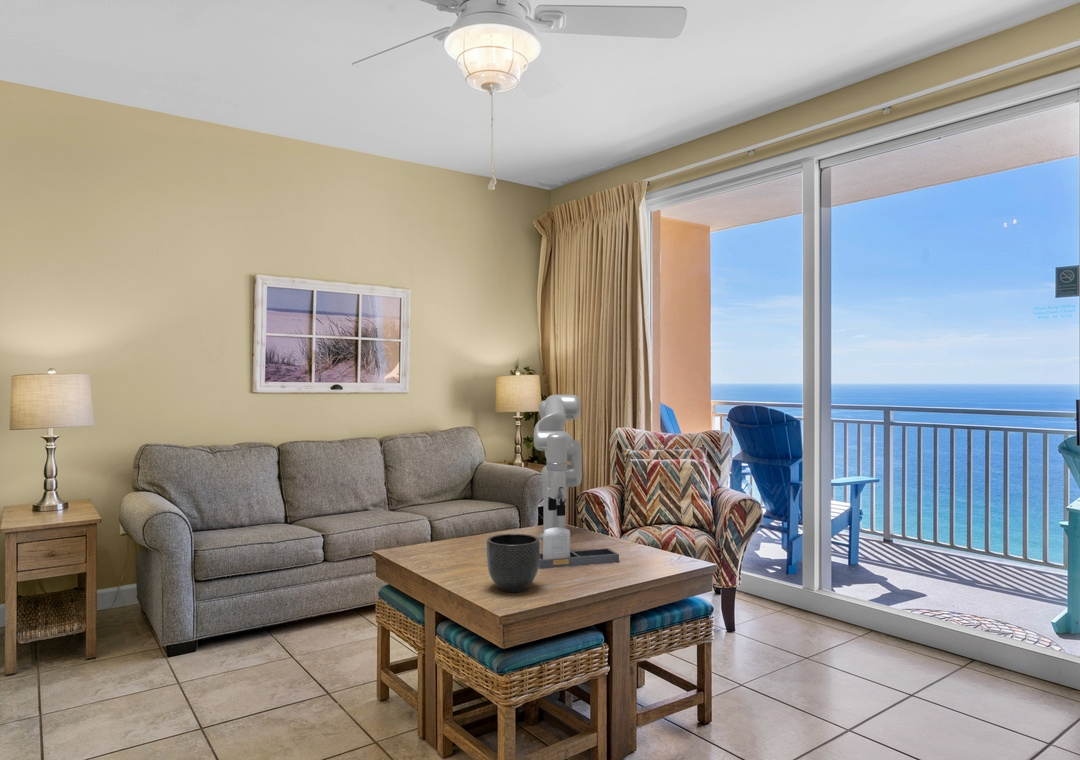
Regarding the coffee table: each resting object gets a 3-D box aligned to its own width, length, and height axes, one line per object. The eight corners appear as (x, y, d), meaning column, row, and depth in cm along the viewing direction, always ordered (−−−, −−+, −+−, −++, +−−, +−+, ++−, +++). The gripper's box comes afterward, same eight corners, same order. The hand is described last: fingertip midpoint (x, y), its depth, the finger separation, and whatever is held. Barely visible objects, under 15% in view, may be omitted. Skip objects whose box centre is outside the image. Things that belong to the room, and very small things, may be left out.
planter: (515, 577, 231) (515, 531, 231) (550, 589, 218) (550, 539, 219) (475, 588, 219) (475, 538, 219) (510, 600, 207) (510, 548, 207)
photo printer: (568, 559, 253) (569, 526, 253) (571, 562, 249) (571, 528, 249) (541, 560, 251) (542, 527, 251) (544, 563, 247) (544, 529, 247)
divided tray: (531, 562, 252) (531, 553, 252) (608, 555, 261) (608, 548, 261) (540, 569, 242) (540, 560, 242) (619, 562, 252) (619, 554, 252)
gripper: (539, 464, 257) (539, 508, 258) (554, 470, 241) (554, 518, 241) (558, 463, 260) (558, 507, 260) (574, 469, 243) (574, 517, 243)
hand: (556, 512), depth 250 cm, fingers open, 9 cm apart
